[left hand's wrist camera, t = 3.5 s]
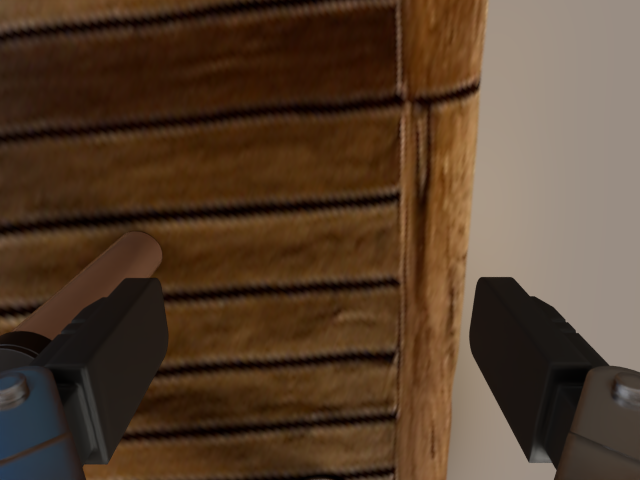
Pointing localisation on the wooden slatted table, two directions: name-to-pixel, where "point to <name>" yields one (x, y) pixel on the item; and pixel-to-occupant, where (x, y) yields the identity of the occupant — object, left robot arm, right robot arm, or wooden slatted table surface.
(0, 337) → the lid
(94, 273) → the brown rounded cylinder
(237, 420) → the wooden slatted table surface
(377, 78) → the wooden slatted table surface
